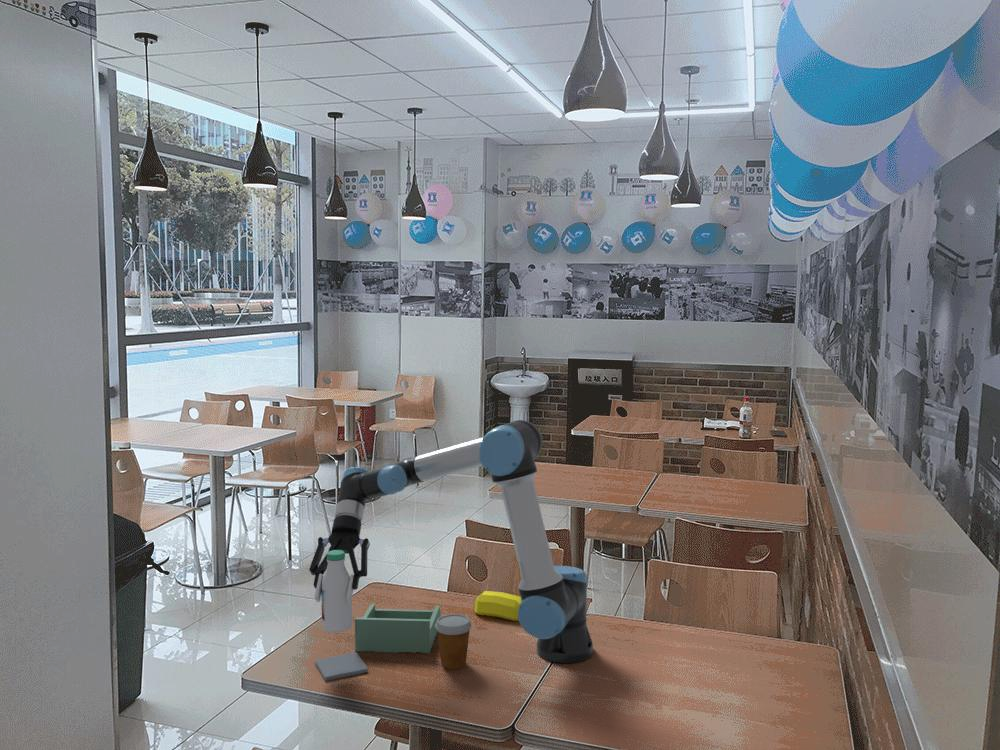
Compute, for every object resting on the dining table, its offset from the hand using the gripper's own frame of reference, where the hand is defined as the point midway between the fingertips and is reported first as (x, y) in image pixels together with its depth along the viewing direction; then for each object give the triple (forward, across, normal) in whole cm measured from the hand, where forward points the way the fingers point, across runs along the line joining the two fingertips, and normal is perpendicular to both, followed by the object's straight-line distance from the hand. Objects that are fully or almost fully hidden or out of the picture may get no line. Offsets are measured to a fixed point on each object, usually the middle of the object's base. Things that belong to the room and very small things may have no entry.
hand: (332, 600), depth 211 cm
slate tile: (+12, -1, -16) cm, 20 cm away
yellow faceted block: (-15, -40, -43) cm, 61 cm away
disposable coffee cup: (+9, -30, -19) cm, 36 cm away
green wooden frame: (-3, -12, -30) cm, 33 cm away
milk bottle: (+4, 0, -9) cm, 9 cm away
